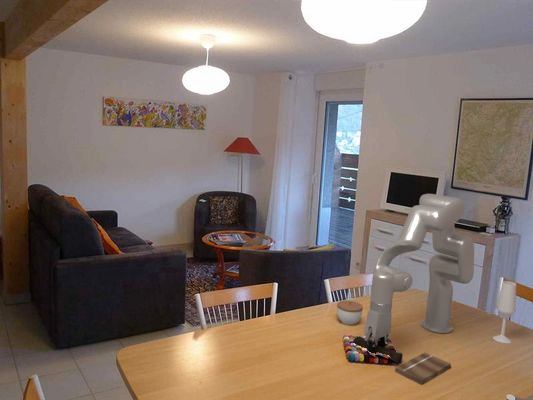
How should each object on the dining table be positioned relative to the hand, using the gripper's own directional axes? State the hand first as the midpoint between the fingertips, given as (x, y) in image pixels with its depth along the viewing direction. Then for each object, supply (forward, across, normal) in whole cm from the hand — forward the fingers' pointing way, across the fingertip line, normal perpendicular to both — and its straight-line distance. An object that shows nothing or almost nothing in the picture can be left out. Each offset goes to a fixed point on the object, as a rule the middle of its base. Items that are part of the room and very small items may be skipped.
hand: (376, 353), depth 166 cm
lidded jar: (+1, -15, -25) cm, 29 cm away
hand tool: (+1, 0, 0) cm, 1 cm away
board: (+1, -5, +16) cm, 17 cm away
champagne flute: (+1, -55, +22) cm, 59 cm away
